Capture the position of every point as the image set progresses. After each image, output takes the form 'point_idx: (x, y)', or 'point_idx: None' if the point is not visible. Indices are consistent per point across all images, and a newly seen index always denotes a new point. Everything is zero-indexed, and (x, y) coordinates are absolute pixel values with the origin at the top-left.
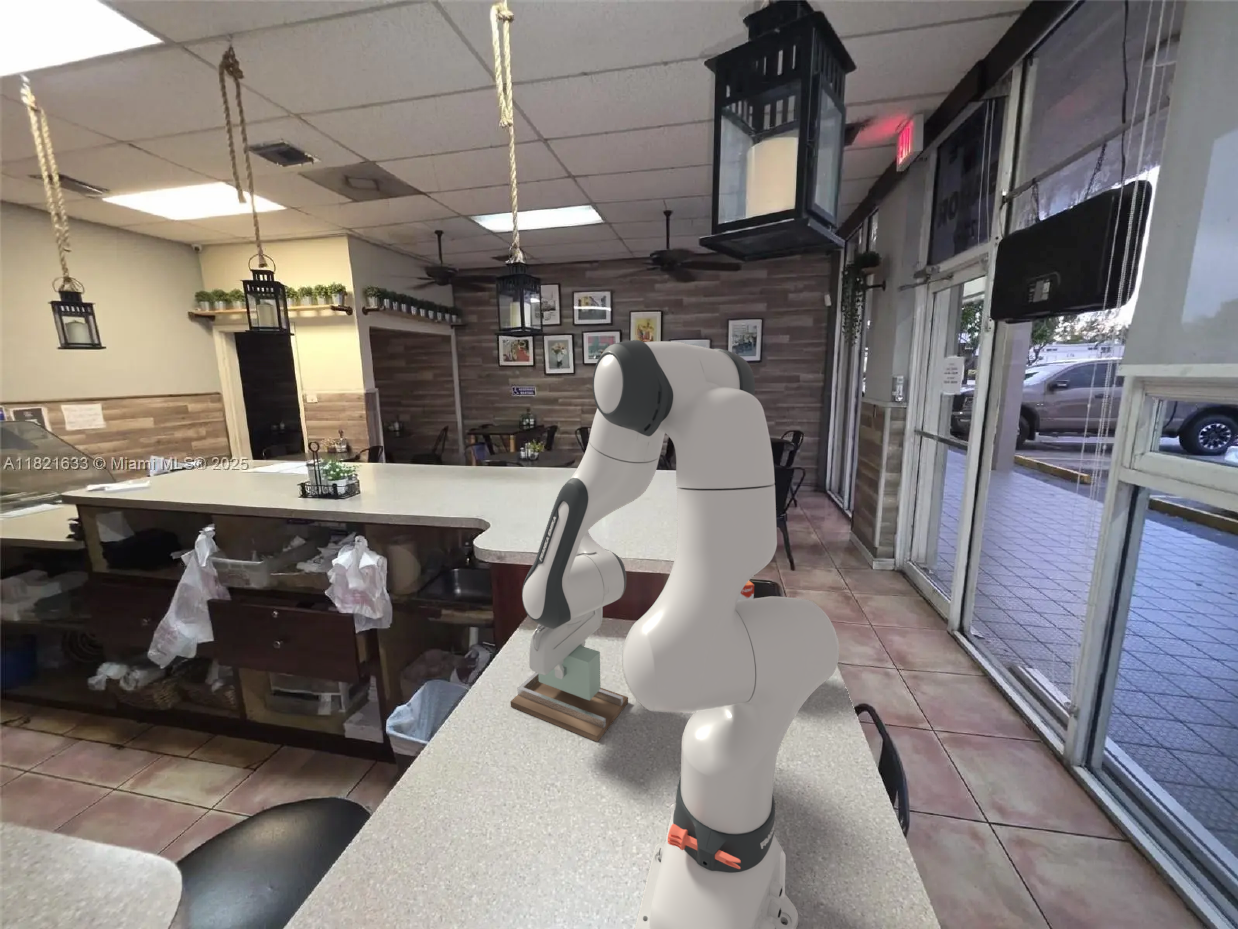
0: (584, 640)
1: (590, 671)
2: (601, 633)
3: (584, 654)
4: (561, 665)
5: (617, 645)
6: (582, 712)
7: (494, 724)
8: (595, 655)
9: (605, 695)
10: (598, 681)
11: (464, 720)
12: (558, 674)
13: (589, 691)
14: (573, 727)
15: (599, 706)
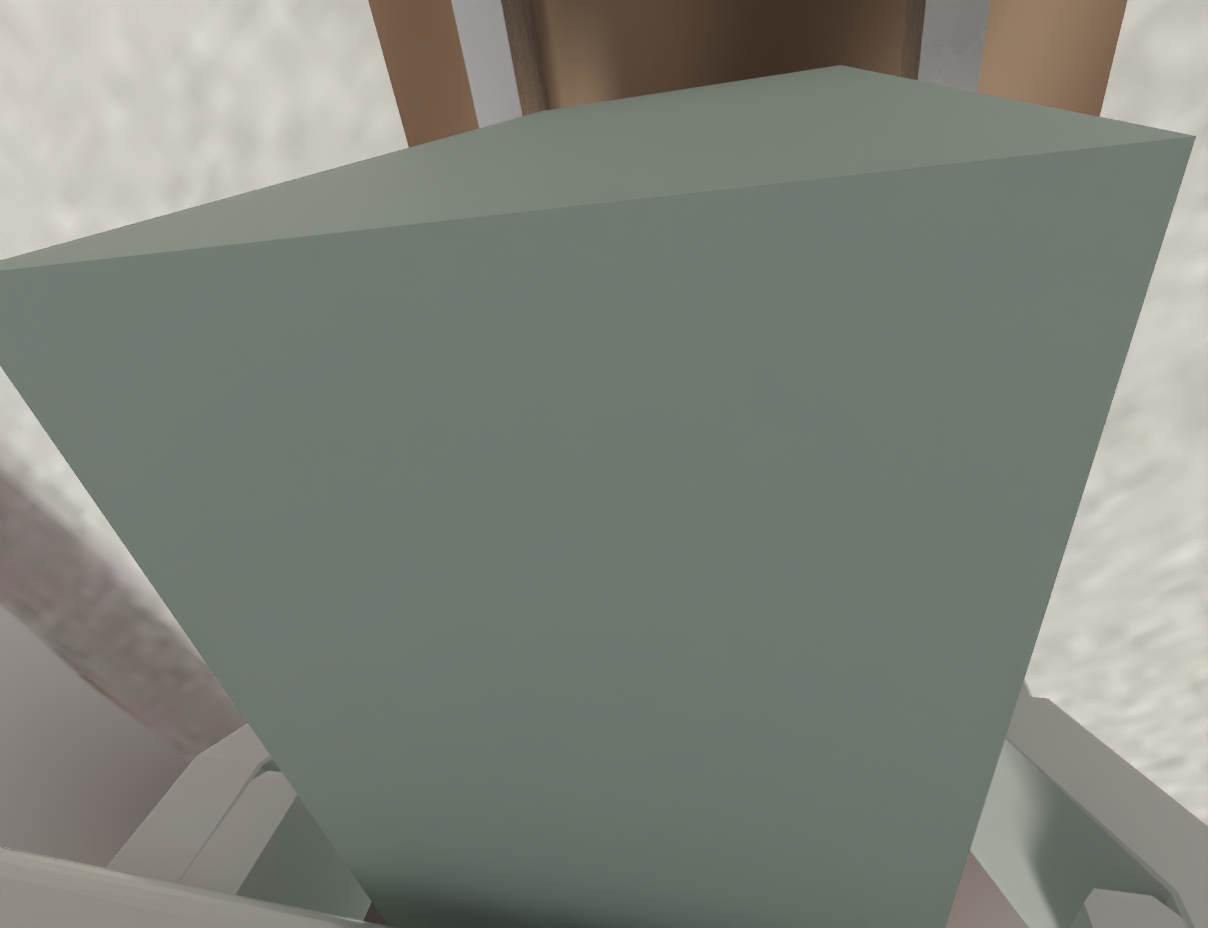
0: (150, 918)
1: (855, 102)
2: (89, 571)
3: (575, 694)
4: (1181, 874)
5: (50, 441)
6: (966, 80)
7: (1167, 669)
8: (267, 278)
9: (519, 65)
10: (549, 116)
11: (1178, 799)
12: None
13: (858, 70)
14: (1103, 86)
15: (655, 55)
